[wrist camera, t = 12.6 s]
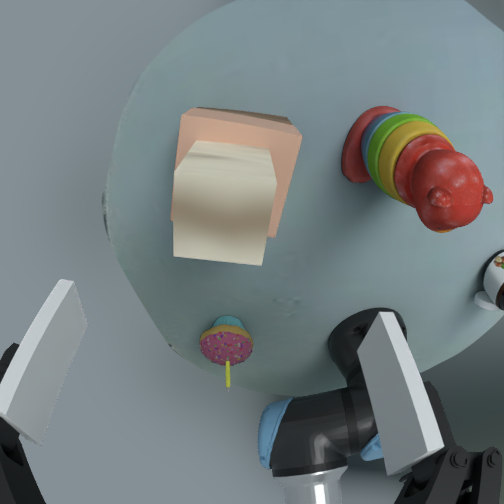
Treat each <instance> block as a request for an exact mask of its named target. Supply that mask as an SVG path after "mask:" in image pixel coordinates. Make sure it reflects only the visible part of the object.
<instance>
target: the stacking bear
mask: <svg viewBox="0 0 504 504" xmlns="http://www.w3.org/2000/svg"><path fill="white" fill-rule="evenodd" d="M342 171H343V174H344V175H345V176H347V177H348V179H349V180H350V181H351V182H359V183H364V182H367V181H369V180H371V179H372V180H373V181H374V182H375V184H376V185H377V186H378V187H379V188H380V189H381V190H382V191H383V192H384V193H386V194H387V195H389V196H390V197H392V198H394V199H396V200H398V201H400V202H402V203H404V204H406V205H409V206H411V207H413V208H416V211H417V213H418V216H419V218H420V219H421V221H422V222H423V224H424V225H425V226H426V227H427V228H429V229H430V230H432V231H435V232H439V233H445V232H449V231H451V230H453V229H455V228H457V227H462V226H465V225H468V224H469V223H471V222H472V221H474V220H475V219H476V217H477V216H478V215H479V213H480V211H481V209H482V207H483V203H486V204H490V203H492V202H493V194H492V192H491V190H490V189H489V188H488V187H486V186H485V185H484V182H483V178H482V175H481V173H480V171H479V169H478V168H477V166H476V165H475V164H474V162H473V161H472V160H471V159H470V158H468V157H467V156H465V155H464V154H462V153H459V152H456V151H455V149H454V147H453V145H452V143H451V142H450V140H449V139H448V138H447V137H446V135H445V134H444V133H443V132H442V131H441V130H440V129H439V128H438V127H437V126H435V125H434V124H433V123H432V122H430V121H429V120H427V119H425V118H424V117H422V116H419V115H417V114H414V113H409V112H401V111H399V110H397V109H395V108H392V107H388V106H379V107H374V108H371V109H369V110H367V111H366V112H364V113H363V114H362V115H361V116H360V117H359V118H358V120H357V121H356V122H355V124H354V125H353V127H352V128H351V130H350V132H349V134H348V137H347V139H346V142H345V145H344V149H343V155H342Z"/></svg>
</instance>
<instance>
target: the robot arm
mask: <svg viewBox="0 0 504 504" xmlns="http://www.w3.org/2000/svg"><path fill="white" fill-rule="evenodd" d="M87 327H88V323H87V320H86V317H85V314H84V311H83V308H82V305H81V302H80V299H79V296H78V292H77V289H76V286H75V282H74V281H69V280H64V279H60V280H59V281H58V283H57V285H56V286H55V288H54V289H53V290H52V292H51V294H50V295H49V297H48V298H47V300H46V302H45V303H44V305H43V306H42V308H41V310H40V311H39V313H38V314H37V316H36V318H35V319H34V321H33V323H32V324H31V326H30V328H29V330H28V331H27V333H26V335H25V337H24V338H23V340H22V342H21V344H20V345H18V344H16V343H13V344H12V345H11V346H10V347H9V348H8V349H7V350H6V351H5V353H4V354H3V356H2V358H1V360H0V504H46V503H45V501H44V499H43V497H42V495H41V492H40V490H39V488H38V486H37V483H36V481H35V479H34V476H33V474H32V472H31V469H30V467H29V464H28V461H27V459H26V456H25V453H24V450H23V447H22V444H21V442H20V440H19V438H18V437H19V434H21V435H22V436H23V437H24V438H25V439H27V440H29V441H31V442H33V443H35V444H38V445H40V446H42V442H43V439H44V436H45V433H46V430H47V426H48V424H49V421H50V418H51V415H52V412H53V409H54V406H55V403H56V400H57V398H58V395H59V393H60V390H61V387H62V385H63V382H64V380H65V377H66V375H67V372H68V370H69V367H70V365H71V362H72V360H73V358H74V355H75V353H76V351H77V348H78V346H79V344H80V342H81V340H82V337H83V335H84V333H85V331H86V329H87ZM328 346H329V351H330V355H331V358H332V360H333V361H334V362H335V364H336V365H337V367H338V368H339V370H340V371H341V373H342V374H343V376H344V377H345V379H346V382H347V386H348V387H345V388H341V389H337V390H332V391H328V392H324V393H319V394H313V395H308V396H303V397H297V398H295V397H291V398H289V399H286V400H281V401H276V402H272V403H270V404H269V405H267V406H266V408H265V409H264V411H263V413H262V416H261V419H260V424H259V431H258V453H259V455H260V463H261V465H262V466H263V467H264V468H267V469H272V472H273V479H274V480H276V481H277V482H279V483H280V484H282V485H283V487H284V491H285V501H286V504H343V502H342V494H341V486H340V477H341V475H342V474H343V472H344V471H345V470H346V469H347V467H348V463H347V456H349V455H353V454H357V453H360V456H361V457H362V458H363V460H366V461H367V460H368V461H369V460H373V459H379V458H381V457H384V461H385V465H386V470H387V475H392V474H396V473H400V472H404V471H405V470H407V469H409V468H411V467H412V472H410V473H408V474H406V475H404V476H403V477H401V479H400V480H399V481H400V482H402V481H403V480H406V479H407V480H406V481H405V482H404V486H403V488H402V490H401V492H400V494H399V496H398V497H397V499H396V501H395V503H394V504H499V497H500V487H501V476H502V455H501V453H500V451H499V450H498V449H497V448H495V447H489V448H488V449H486V450H485V451H483V452H467V451H466V450H465V449H464V448H463V447H461V446H457V445H456V443H455V441H454V438H453V435H452V432H451V429H450V426H449V423H448V420H447V417H446V414H445V412H444V408H443V406H442V404H441V400H440V398H439V395H438V392H437V390H436V389H435V388H434V386H433V385H432V384H431V383H430V381H428V382H422V379H421V377H420V374H419V371H418V369H417V366H416V364H415V361H414V359H413V356H412V354H411V352H410V349H409V347H408V344H407V331H406V326H405V324H404V321H403V319H402V317H401V316H400V314H399V313H398V312H396V311H394V310H392V309H388V308H374V309H369V310H365V311H362V312H359V313H357V314H355V315H352V316H351V317H349V318H347V319H346V320H344V321H343V322H342V323H340V324H339V325H338V326H337V327H336V328H335V329H334V331H333V332H332V334H331V335H330V338H329V341H328ZM470 486H472V492H470V491H469V487H470Z"/></svg>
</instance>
